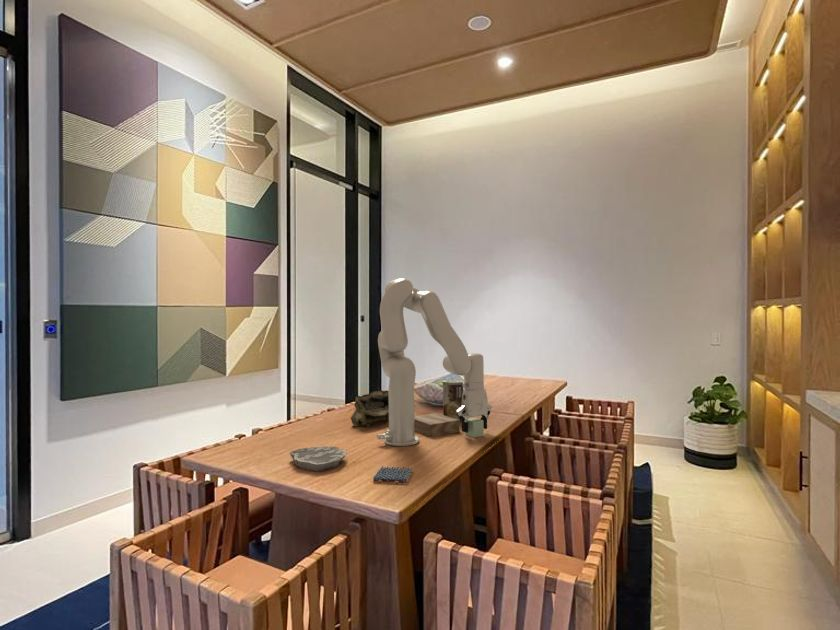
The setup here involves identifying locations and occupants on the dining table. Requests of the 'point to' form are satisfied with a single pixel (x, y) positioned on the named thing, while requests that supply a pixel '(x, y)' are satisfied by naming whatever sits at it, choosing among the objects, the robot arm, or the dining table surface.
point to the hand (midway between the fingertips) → (474, 430)
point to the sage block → (475, 427)
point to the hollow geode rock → (371, 408)
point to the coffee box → (452, 398)
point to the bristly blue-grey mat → (393, 475)
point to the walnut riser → (435, 424)
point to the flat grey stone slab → (318, 457)
